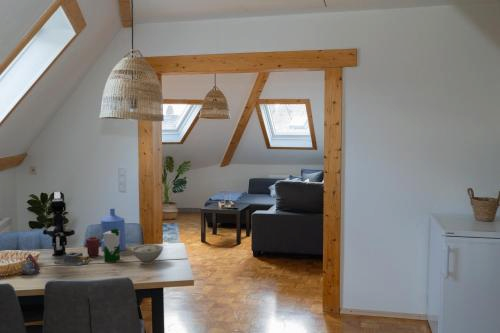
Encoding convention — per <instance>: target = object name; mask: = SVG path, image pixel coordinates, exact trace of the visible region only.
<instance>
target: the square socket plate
mask: <svg viewBox="0 0 500 333" xmlns="http://www.w3.org/2000/svg"><path fill="white" fill-rule="evenodd" d="M62 257H63V258H61V259H59V260H57V261H56V260H55V261H54V264H57V265H69V266H82V265H85V264H88V263H89V262H91V261H93V260H92V258H90V257H89V255H87V256H85V255H84V254H83V252H76V251H70V252H67V253H66V254H64V255H62Z"/></svg>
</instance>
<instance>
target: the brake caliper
mask: <svg viewBox="0 0 500 333" xmlns="http://www.w3.org/2000/svg"><path fill="white" fill-rule="evenodd" d="M25 259H26V260H27V262H25V263H23V262H22V264H21V267H22V269H20V270H19V271H18V272H20V273H22V274H21V275H30V276H33V275H36V274H37V273H39V271H40V270H41V267H40V265H39V262H37V261H36V259H35V257H33V255H32V254H31V253H29V254H28V255H27V257H26V258H25ZM21 267H20V268H21Z"/></svg>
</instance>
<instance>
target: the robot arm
mask: <svg viewBox="0 0 500 333" xmlns="http://www.w3.org/2000/svg"><path fill="white" fill-rule="evenodd" d="M49 201H50V213H52V221H53V222H51V226H50V227H48V228H45V229H43V230H42V235H47V236H49V237H51V246H52V247H53V253H52V256H58V257H59V256H63V255H65V254H67V252H66V246H67V245H68V238H67V237H71V236H73V235H74V236H75V234H76V233H75V232H76V231H75V230H74V229H66V228H65V227H64V224H66V221H64V213H65V212H66V210H67V208H66V202H65V194H64V193H63V192H62V190H54V191H52V193H51V194H50V200H49ZM57 236H58V237H59V238H60V246H62V249H61V250H57V246H56V237H57Z"/></svg>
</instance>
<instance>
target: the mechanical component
mask: <svg viewBox="0 0 500 333" xmlns="http://www.w3.org/2000/svg"><path fill="white" fill-rule="evenodd" d="M84 247H85V248H87V256H88V258H92V257H99V253H100V247H102V242H100V237H96V236H90V237H87V238H86V239H85V244H84Z"/></svg>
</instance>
